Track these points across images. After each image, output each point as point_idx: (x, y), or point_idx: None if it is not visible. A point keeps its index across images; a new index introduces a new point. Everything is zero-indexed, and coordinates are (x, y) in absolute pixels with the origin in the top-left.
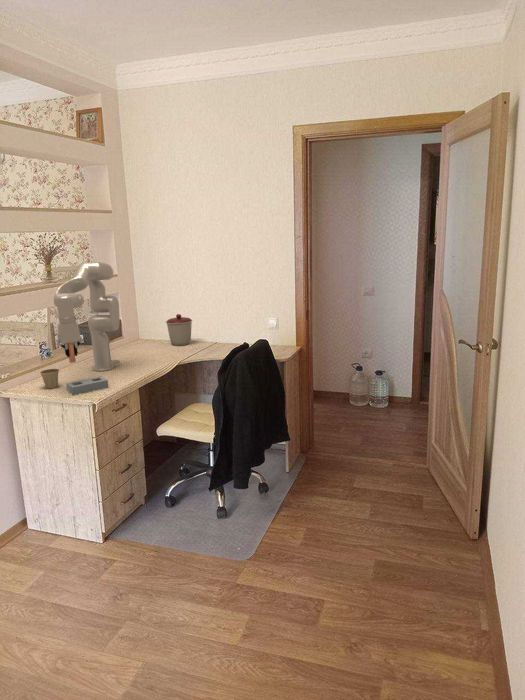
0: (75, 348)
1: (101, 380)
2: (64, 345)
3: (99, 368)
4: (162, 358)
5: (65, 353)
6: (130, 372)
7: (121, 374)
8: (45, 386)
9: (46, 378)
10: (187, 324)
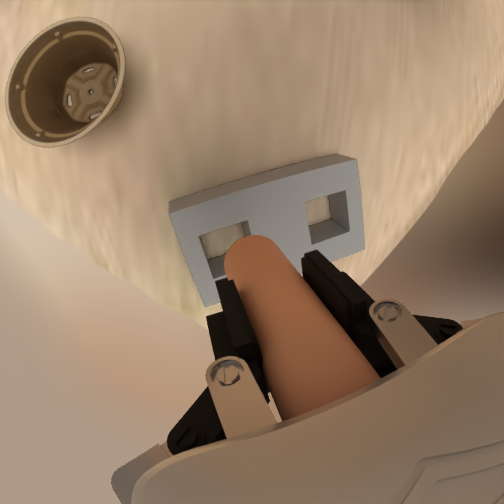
0: None
1: (343, 243)
2: (233, 419)
3: None
4: (495, 12)
5: (209, 330)
6: (440, 70)
7: (416, 70)
8: (60, 106)
9: (50, 130)
10: None
